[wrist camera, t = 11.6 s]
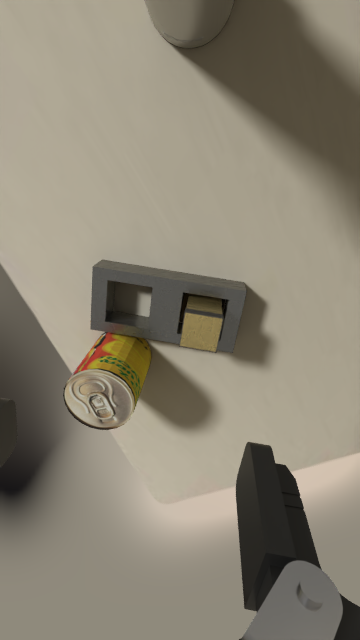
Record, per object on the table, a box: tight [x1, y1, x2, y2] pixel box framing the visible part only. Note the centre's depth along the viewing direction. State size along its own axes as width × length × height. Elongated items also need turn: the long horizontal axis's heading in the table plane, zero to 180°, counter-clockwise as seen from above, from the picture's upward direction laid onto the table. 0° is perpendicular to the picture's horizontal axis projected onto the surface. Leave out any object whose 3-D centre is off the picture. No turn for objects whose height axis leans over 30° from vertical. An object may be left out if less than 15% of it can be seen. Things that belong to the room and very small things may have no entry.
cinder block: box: [91, 260, 247, 353], centre depth 46 cm, size 9×20×4 cm, turn 82°
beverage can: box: [63, 332, 151, 430], centre depth 46 cm, size 9×9×12 cm
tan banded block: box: [179, 293, 224, 353], centre depth 43 cm, size 5×5×9 cm
